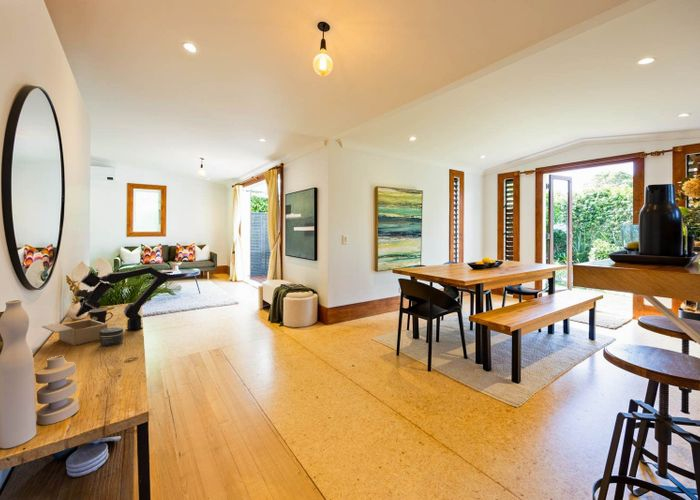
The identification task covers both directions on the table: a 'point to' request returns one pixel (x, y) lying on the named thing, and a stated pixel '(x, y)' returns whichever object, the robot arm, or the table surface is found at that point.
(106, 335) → the jar
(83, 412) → the table surface
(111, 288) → the robot arm
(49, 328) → the carton flap
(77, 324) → the shipping carton
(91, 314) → the coffee mug
